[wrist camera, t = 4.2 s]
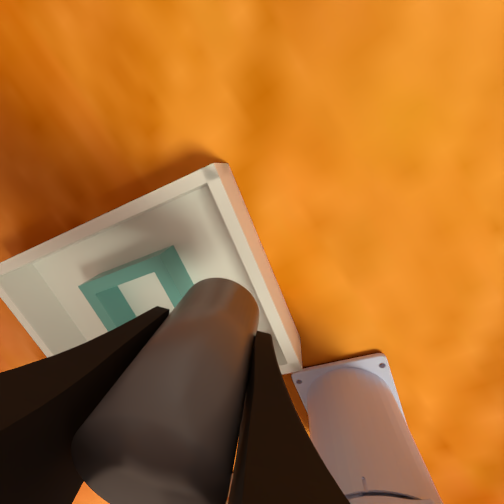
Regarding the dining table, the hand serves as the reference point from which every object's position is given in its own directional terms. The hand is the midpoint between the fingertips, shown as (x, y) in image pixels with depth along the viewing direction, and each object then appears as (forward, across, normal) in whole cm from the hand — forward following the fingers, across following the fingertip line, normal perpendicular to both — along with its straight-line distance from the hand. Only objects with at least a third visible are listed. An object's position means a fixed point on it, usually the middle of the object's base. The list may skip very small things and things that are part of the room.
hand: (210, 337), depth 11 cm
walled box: (+9, +6, +5) cm, 12 cm away
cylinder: (+2, 0, 0) cm, 2 cm away
